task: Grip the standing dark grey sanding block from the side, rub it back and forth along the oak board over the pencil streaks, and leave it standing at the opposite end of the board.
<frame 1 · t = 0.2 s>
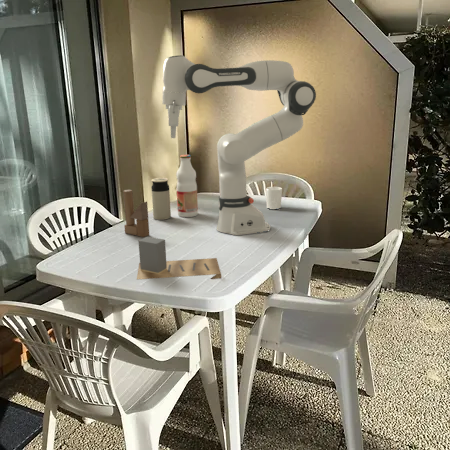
hand: (173, 137, 180), 39 cm above the table, tool pointing down, fingers open, 8 cm apart
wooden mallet: (137, 234, 190), on the table
sanding block: (153, 269, 148), point 1 cm above the table, touching oak board
white cup: (273, 208, 225), on the table
oak board: (178, 272, 150), on the table
travel mug: (162, 218, 213), on the table
fruit juice: (187, 215, 217), on the table
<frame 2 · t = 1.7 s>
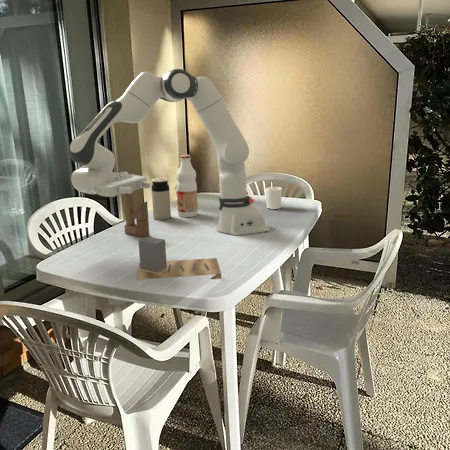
hand: (140, 188, 158), 25 cm above the table, tool horizontal, fingers open, 8 cm apart
nothing on the table moved.
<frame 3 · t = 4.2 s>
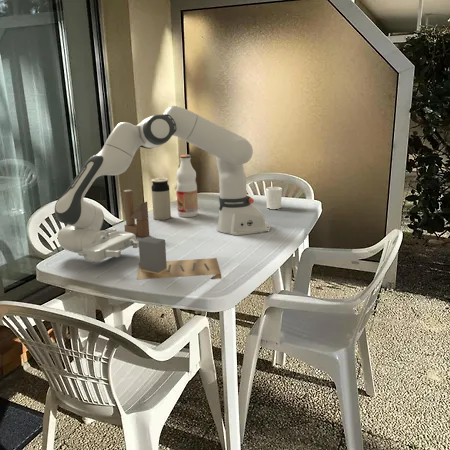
hand: (129, 249, 151), 7 cm above the table, tool horizontal, fingers open, 8 cm apart
nothing on the table moved.
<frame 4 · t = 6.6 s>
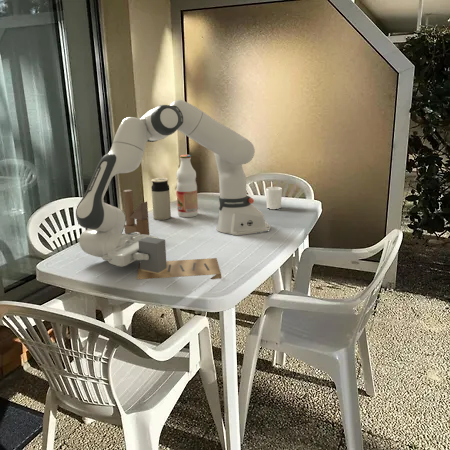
hand: (154, 253, 146), 7 cm above the table, tool horizontal, fingers closed on sanding block, 4 cm apart
sanding block: (153, 269, 148), point 2 cm above the table, touching gripper, oak board
everything else where it was.
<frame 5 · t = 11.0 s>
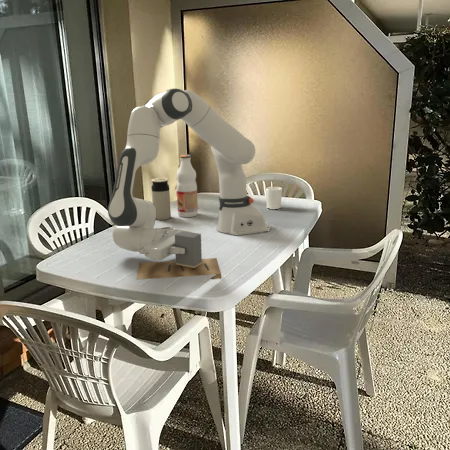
hand: (190, 248, 147), 8 cm above the table, tool horizontal, fingers closed on sanding block, 4 cm apart
sanding block: (188, 263, 149), point 3 cm above the table, touching gripper
everything else where it was.
when the fingers open (8 cm above the table, at t = 15.4 s): sanding block drops 1 cm, resting on oak board.
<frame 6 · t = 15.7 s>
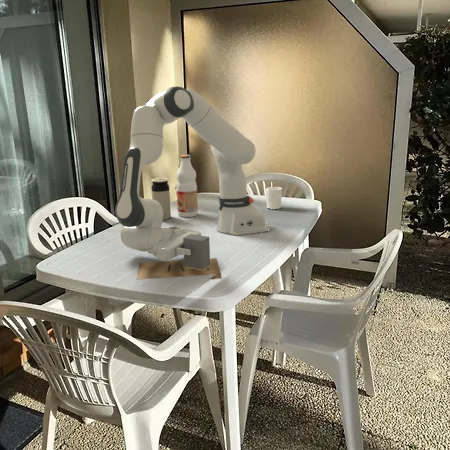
hand: (198, 247, 147), 8 cm above the table, tool horizontal, fingers open, 8 cm apart
sanding block: (197, 266, 150), point 2 cm above the table, touching oak board
everything else where it was.
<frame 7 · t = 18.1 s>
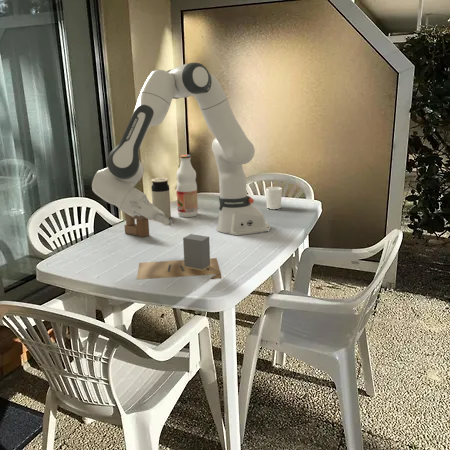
hand: (170, 224, 155), 14 cm above the table, tool tilted 60°, fingers open, 8 cm apart
nothing on the table moved.
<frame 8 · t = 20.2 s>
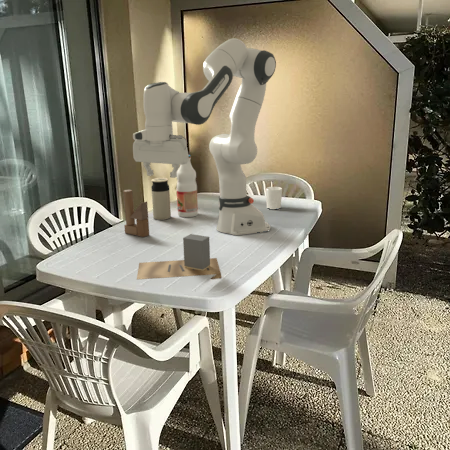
hand: (161, 176, 154), 29 cm above the table, tool pointing down, fingers open, 8 cm apart
nothing on the table moved.
at the end: sanding block inside the target area (0.1 cm from its centre), point 1.6 cm above the table; sanding block tilted 0°; sanding block moved 14.0 cm from its start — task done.
